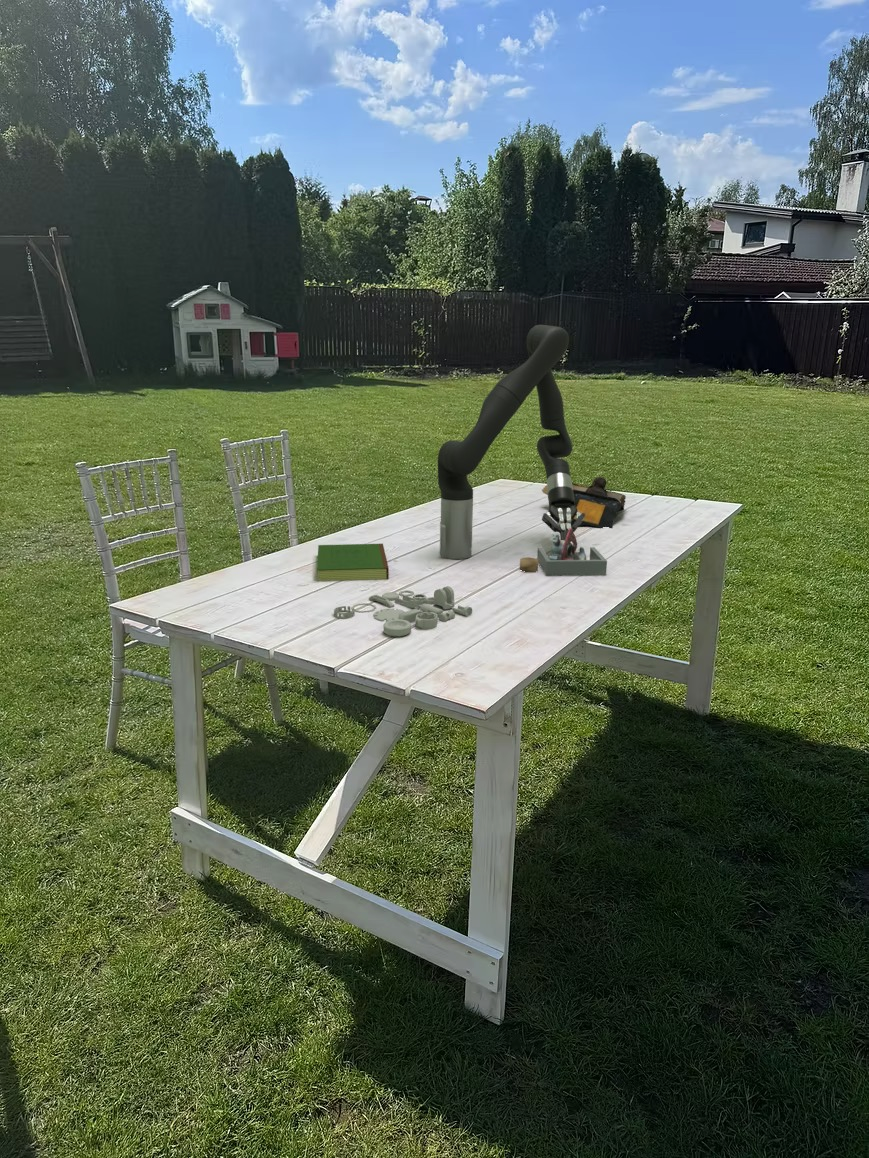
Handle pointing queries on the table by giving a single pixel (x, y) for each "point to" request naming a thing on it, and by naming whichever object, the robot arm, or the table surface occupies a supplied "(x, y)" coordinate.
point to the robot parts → (401, 620)
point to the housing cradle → (573, 565)
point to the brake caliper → (566, 548)
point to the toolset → (596, 503)
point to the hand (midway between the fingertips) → (566, 543)
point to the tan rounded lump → (529, 564)
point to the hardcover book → (352, 562)
